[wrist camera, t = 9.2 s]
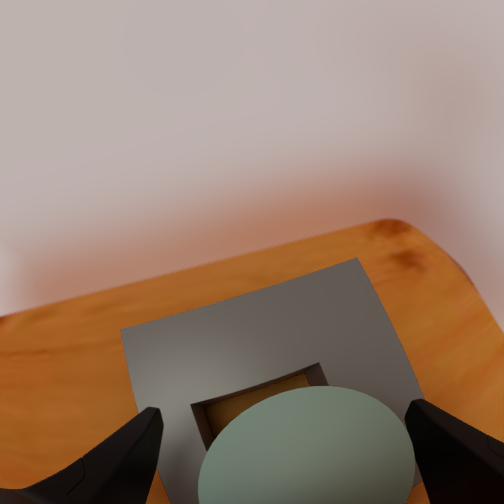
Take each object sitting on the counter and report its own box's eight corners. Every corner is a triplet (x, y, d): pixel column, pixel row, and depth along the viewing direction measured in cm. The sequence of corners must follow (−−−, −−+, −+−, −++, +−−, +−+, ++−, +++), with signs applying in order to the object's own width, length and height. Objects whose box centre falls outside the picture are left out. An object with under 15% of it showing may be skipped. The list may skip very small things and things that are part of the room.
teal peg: (287, 484, 13) (348, 581, 3) (217, 451, 14) (159, 519, 4) (324, 420, 15) (443, 422, 5) (256, 388, 16) (268, 349, 6)
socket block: (412, 457, 13) (446, 462, 10) (211, 537, 11) (202, 564, 7) (339, 285, 20) (357, 257, 16) (144, 346, 17) (120, 329, 14)
